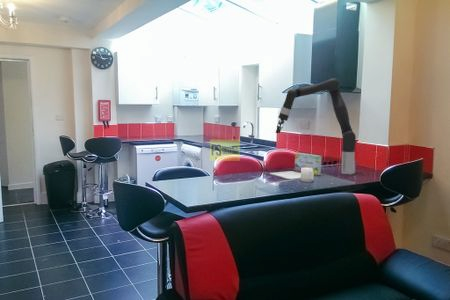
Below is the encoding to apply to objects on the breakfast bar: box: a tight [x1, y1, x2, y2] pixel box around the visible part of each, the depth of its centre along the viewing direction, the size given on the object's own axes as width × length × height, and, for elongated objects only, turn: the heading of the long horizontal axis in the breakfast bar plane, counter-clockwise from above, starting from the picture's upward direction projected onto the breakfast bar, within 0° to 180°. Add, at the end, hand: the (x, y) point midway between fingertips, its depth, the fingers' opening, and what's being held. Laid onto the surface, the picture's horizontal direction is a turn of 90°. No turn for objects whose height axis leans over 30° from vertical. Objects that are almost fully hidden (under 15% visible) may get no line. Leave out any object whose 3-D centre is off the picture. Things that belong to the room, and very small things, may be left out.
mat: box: [268, 170, 301, 180], centre depth 279 cm, size 22×26×1 cm
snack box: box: [293, 152, 323, 177], centre depth 285 cm, size 21×6×15 cm, turn 42°
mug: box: [300, 167, 315, 183], centre depth 256 cm, size 8×11×9 cm
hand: (277, 132), depth 296 cm, fingers open, 8 cm apart
